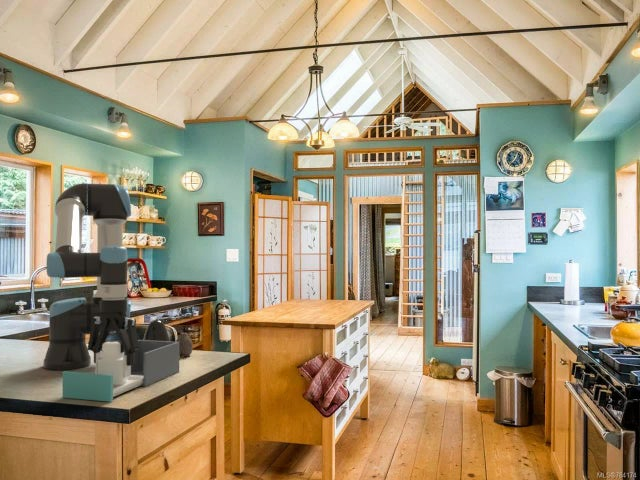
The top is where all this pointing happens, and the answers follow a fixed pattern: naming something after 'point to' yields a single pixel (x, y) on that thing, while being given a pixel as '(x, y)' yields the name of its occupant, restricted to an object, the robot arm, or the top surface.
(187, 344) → the vase
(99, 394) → the tray
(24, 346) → the top surface
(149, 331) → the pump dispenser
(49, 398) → the top surface
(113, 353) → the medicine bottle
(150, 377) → the bay
